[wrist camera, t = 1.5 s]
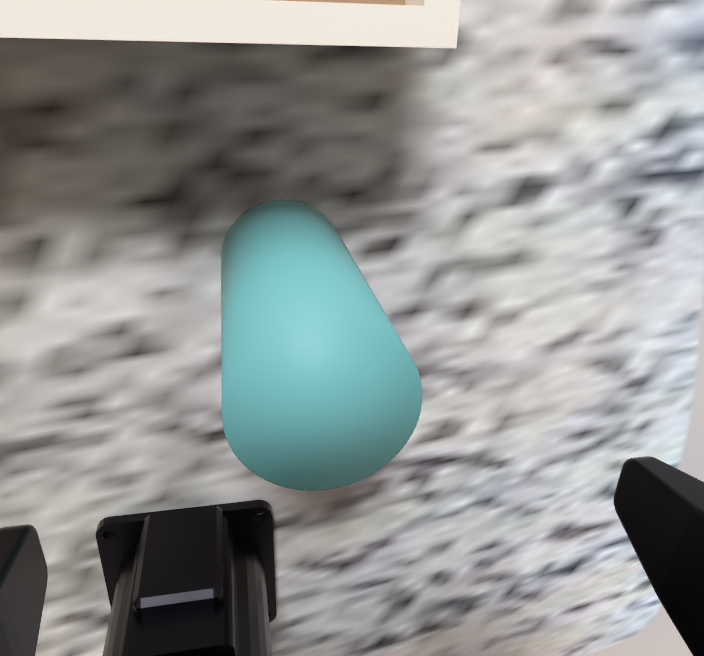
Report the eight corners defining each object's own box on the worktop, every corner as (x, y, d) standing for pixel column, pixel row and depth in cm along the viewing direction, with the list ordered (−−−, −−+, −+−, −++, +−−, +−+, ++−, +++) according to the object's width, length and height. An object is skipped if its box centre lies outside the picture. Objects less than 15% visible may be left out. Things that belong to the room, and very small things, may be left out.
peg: (342, 311, 21) (415, 479, 13) (225, 318, 20) (228, 500, 13) (344, 198, 19) (429, 312, 12) (216, 201, 19) (214, 325, 11)
